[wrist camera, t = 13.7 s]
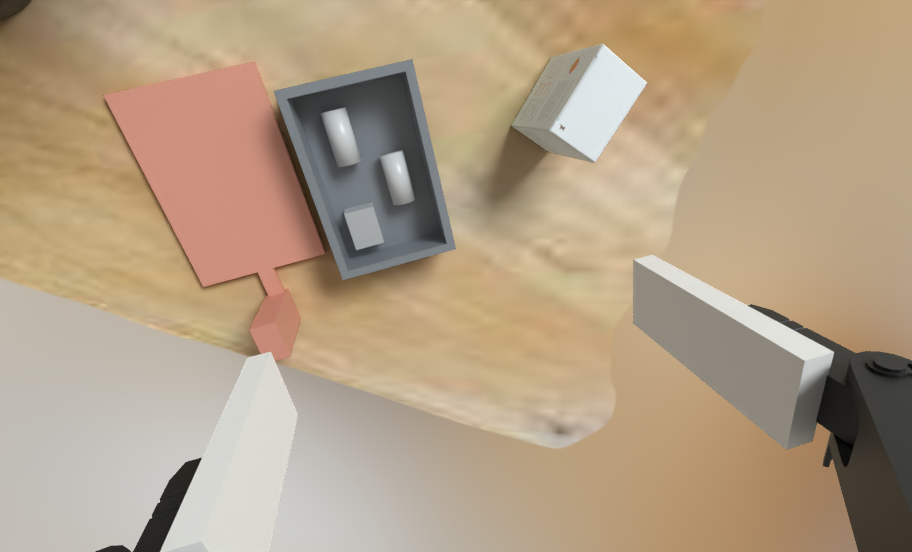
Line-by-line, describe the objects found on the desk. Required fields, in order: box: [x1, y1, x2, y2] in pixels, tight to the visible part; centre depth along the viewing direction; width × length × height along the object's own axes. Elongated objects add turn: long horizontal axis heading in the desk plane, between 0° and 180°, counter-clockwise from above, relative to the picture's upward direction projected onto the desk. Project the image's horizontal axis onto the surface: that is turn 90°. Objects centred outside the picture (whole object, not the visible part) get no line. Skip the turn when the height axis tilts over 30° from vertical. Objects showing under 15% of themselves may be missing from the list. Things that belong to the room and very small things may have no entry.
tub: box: [274, 59, 456, 280], centre depth 42 cm, size 18×12×5 cm, turn 12°
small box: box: [511, 44, 647, 163], centre depth 40 cm, size 8×6×10 cm
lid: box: [103, 62, 326, 361], centre depth 40 cm, size 26×13×8 cm, turn 12°
